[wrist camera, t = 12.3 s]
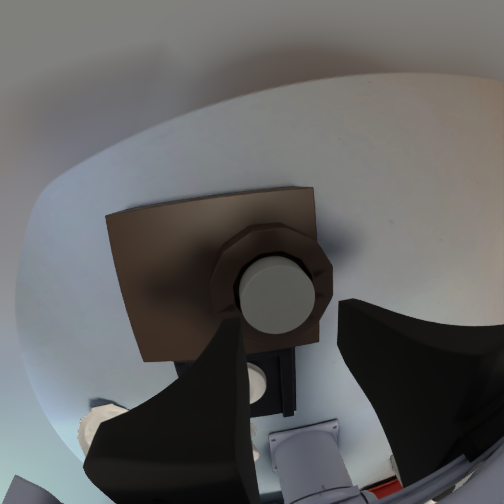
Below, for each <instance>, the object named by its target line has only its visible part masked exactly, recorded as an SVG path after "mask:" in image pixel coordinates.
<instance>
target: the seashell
mask: <svg viewBox="0 0 504 504" xmlns="http://www.w3.org/2000/svg"><path fill="white" fill-rule="evenodd" d="M127 411H129V410H126V409H124V408H121V407H117V406H115V405H113V403H112V404H108V405H103V406H99V407H94V408H92V411H91V412H90V413H88V414H87V415H86V416H85V417H83V418H82V419H80V420H81V422H80V425H79V430H78V433H79V435H78V437H77V438H78V441H79V443H80V446H81V448H82V450H83V453H84V455H85V457H86V456H87V453H88V450H89V448H90V445H91V443H92V440H93V437H94V435H95V433H96V431H97V429H98V427H99V425H100V423H101V422H103V421H106V420H108V419H111V418H113V417H116V416H118V415H120V414H122V413H125V412H127Z"/></svg>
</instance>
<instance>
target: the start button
mask: <svg viewBox="0 0 504 504" xmlns="http://www.w3.org/2000/svg"><path fill="white" fill-rule="evenodd" d="M239 295H240V304H241V310H242V313H243V315H244V317H245V319H246V320H247V322H248V323H249V324H250V325H251V326H253V327H254V328H256V329H257V330H259V331H262V332H265V333H270V334H280V333H285V332H288V331H291V330H293V329H295V328H297V327H298V326H300V325H301V324H302V323H303V322H304V321H305V320H306V319H307V318H308V316H309V315H310V313H311V311H312V309H313V306H314V302H315V291H314V287H313V284H312V282H311V280H310V279H309V277H308V276H307V275H306V274H305V273H304V271H303V270H302V269H301V268H300V267H299V266H298V265H297V264H296V263H295V262H293V261H292V260H290V259H288V258H285V257H281V256H269V257H265V258H262V259H259V260H257V261H256V262H254V263H253V264H252V265H250V266H249V267H248V268H247V269H246V271H245V272H244V274H243V276H242V278H241V281H240V285H239Z"/></svg>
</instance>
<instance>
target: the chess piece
mask: <svg viewBox="0 0 504 504" xmlns="http://www.w3.org/2000/svg"><path fill="white" fill-rule="evenodd" d="M247 367H248V374H249V381H250V404H252V403H254V402H255V401H257V400H258V399H260V398H261V397H262V395H263V394H264V392H265V390H266V377H265V374H264V372H263V371H262V370H261V369H260V368H259V367H257V366H256V365H254V364H251V363H248V362H247ZM250 430H251V438H252V437H254V436H255V434H256V431H257V428H256V426H255V425H254V424H252V423H250ZM251 441H252V440H251ZM252 449H253V456H254V461H256V460H257V459H258V458H259V455H260V454H259V451H258V450H257V448H256V447H255V445H254V444H253V441H252Z"/></svg>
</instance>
